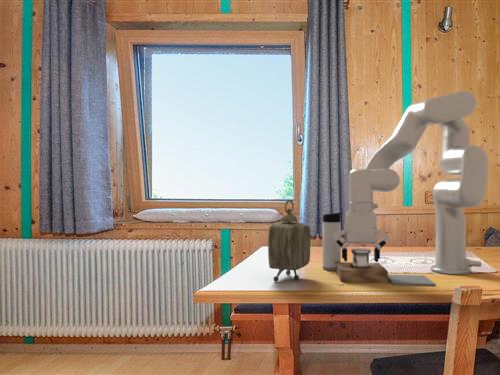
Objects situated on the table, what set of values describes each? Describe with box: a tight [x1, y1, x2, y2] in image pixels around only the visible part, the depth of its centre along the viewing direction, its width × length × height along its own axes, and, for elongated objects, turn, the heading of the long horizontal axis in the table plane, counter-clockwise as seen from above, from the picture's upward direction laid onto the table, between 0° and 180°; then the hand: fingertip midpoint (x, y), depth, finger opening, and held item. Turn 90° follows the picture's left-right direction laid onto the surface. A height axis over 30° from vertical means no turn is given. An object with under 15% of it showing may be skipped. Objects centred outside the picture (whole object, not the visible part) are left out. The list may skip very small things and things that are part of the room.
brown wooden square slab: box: [336, 261, 389, 284], centre depth 140 cm, size 14×14×4 cm
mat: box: [388, 274, 437, 287], centre depth 135 cm, size 12×12×1 cm
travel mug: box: [322, 211, 343, 272], centre depth 154 cm, size 6×7×20 cm
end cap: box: [350, 247, 371, 268], centre depth 140 cm, size 6×6×9 cm
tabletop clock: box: [267, 199, 311, 283], centre depth 137 cm, size 14×9×25 cm, turn 155°
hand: (360, 261), depth 140 cm, fingers open, 9 cm apart
